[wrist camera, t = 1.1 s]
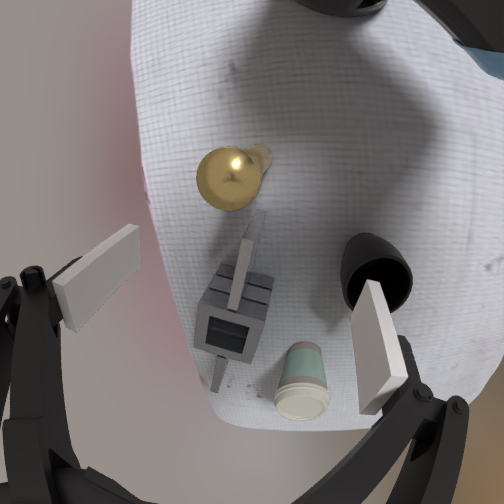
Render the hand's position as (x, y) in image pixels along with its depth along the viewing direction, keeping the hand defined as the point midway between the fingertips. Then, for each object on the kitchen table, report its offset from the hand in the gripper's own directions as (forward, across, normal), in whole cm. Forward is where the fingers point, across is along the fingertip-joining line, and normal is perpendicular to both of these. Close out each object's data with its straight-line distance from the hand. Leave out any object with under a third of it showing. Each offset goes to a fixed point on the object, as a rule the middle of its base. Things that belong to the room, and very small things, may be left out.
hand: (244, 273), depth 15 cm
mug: (+22, +13, -8) cm, 27 cm away
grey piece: (+22, -2, -13) cm, 25 cm away
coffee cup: (+22, +10, -27) cm, 36 cm away
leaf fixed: (+22, -3, -22) cm, 31 cm away
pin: (+22, -4, +3) cm, 23 cm away
